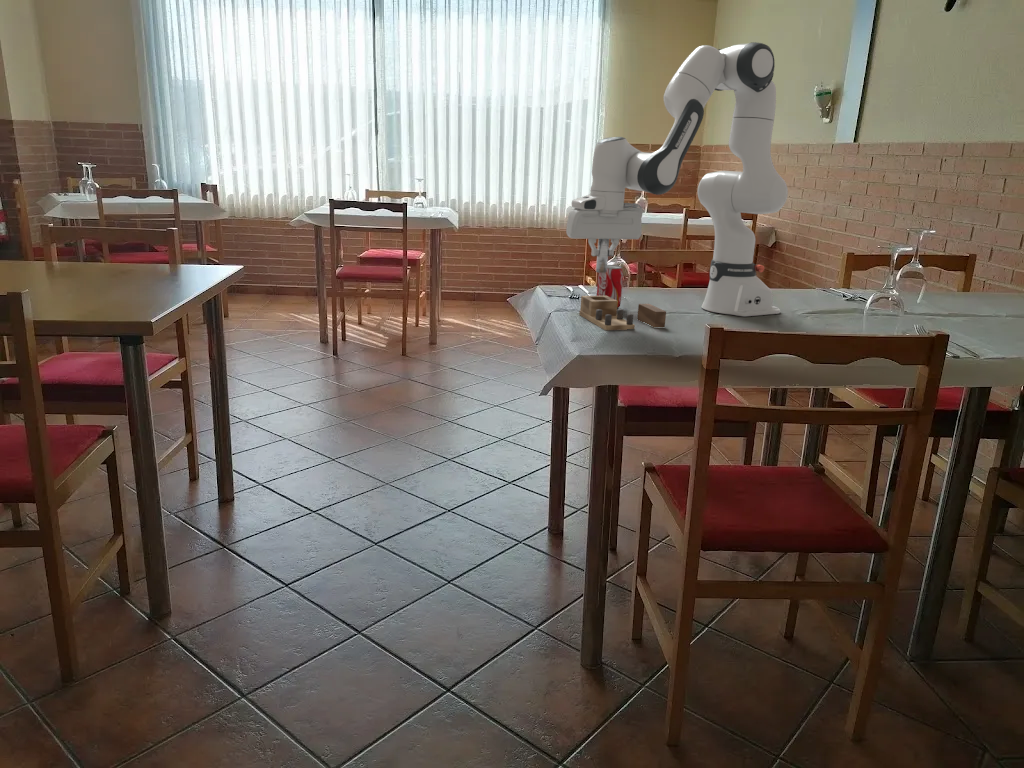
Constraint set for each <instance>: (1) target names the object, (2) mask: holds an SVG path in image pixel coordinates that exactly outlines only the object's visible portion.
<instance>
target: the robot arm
mask: <svg viewBox="0 0 1024 768" xmlns="http://www.w3.org/2000/svg"><path fill="white" fill-rule="evenodd" d="M775 66H776V65H775V56H774V53H773V51H772V49H771V47H770V46H769V45H768V44H766V43H763V42H758V41H757V42H756V41H755V42H754V41H753V42H750V43H738V44H733V45H731V46H728V47H725V48H724V47H723V48H720V49H719V48H716V47H714V46H712V45H709V44H707V45H706V44H704V45H700V46H697V47H695V49H693V51H692V52H691V53H690V54H689V55H688V56H687V57H686V58H685V60H683V62H682V63H681V65H680V66H679V68H678V69H677V70H676V72H675V73H674V75H673V76H672V78H671V79H670V81H669V83H668V84H667V86H666V88H665V91H664V94H663V104H664V107H665V109H666V111H667V113H669V114H670V116H671V117H672V118H673V119H674V122H673V125H672V127H671V129H670V130H669V132H668V134H667V136H666V138H665V141H663V144H662V145H661V147H660V148H659V149H657V150H656V151H653V152H645V151H644V152H643V151H641V150H640V149H638V148H636V147H635V146H633V145H632V144H630V142H629V141H628V140H627V138H625V137H623V136H614V137H613V136H612V137H610V136H609V137H605V138H602V139H600V140H599V141H597V143H596V145H595V147H594V151H593V157H592V165H591V175H592V183H591V185H590V186H591V187H590V189H589V190H590V192H589V194H587V195H583V196H580V197H577V198H575V199H572V200H571V207H572V209H570V211H569V213H568V216H567V221H566V222H567V223H566V230H565V232H566V235H567V236H568V238H569V239H573V240H575V239H576V240H577V239H579V240H580V239H583V240H584V239H585V240H588V241H587V242H588V245H589V247H590V249H591V255H590V256H592V257H597V256H599V249H598V248H597V246H596V245H595V244H597V240H598V239H609V240H610V243H611V245H610V247H609V248H608V257H614V256H615V255H614V254H615V250H616V248H617V247H618V246H619V244H620V243H619V242H620V240H639V239H640V238H641V237H642V231H643V229H642V225H643V222H642V217H643V207H642V206H641V205H639V204H638V203H636V202H635V203H634V202H633V203H630V202H625V191H626V189H628V190H632V191H633V190H634V191H640V192H646V193H649V194H653V195H656V196H660V195H664V194H667V193H668V192H669V191H671V189H673V188H674V186H675V184H676V182H677V180H678V177H679V174H680V169H681V167H682V164H683V160H684V159H685V157H686V155H687V153H688V151H689V148H690V146H691V144H692V143H693V141H694V138H695V137H696V135H697V134H698V133H697V132H698V130H699V128H700V127H701V124H702V122H703V118H704V114H705V108H706V105H707V103H708V102H709V100H710V98H711V96H712V95H713V94H714V91H719V92H721V91H733V93H734V96H735V104H734V109H733V113H732V119H731V126H730V132H729V137H728V138H729V139H728V147H729V150H730V152H731V153H732V154H733V155H734V156H736V157H737V158H738V159H740V161H741V163H742V171H733V170H732V171H731V170H719V171H712V172H708V173H706V174H705V175H704V176H702V178H701V179H700V181H699V183H698V186H697V198H698V201H699V202H700V204H701V205H702V206H703V207H704V209H706V211H707V212H708V214H709V216H710V218H711V221H712V224H713V229H714V243H713V244H714V246H713V247H714V248H713V254H712V255H713V257H712V259H711V261H710V268H709V282H708V286H707V290H706V294H705V296H704V300H703V302H702V305H701V308H702V309H703V310H705V311H708V312H713V313H719V314H725V315H733V316H738V317H751V316H752V317H753V316H763V315H765V316H766V315H775V314H777V315H778V314H780V313H781V310H780V308H779V307H777V306H775V305H774V295H773V291H772V289H771V288H770V287H768V286H767V285H766V284H765V282H763V281H762V280H761V279H760V278H759V277H758V276H757V272H759V273H763V272H764V271H765V266H764V265H762V264H757V265H756V264H755V263H754V262H753V261H754V254H755V247H756V234H755V233H754V231H753V230H752V229H751V228H749V227H748V226H746V225H745V223H744V221H743V219H742V214H741V213H743V214H745V213H746V214H753V215H766V214H775V213H777V212H780V210H782V208H783V207H784V206H785V204H786V202H787V199H788V194H789V190H788V184H787V182H786V180H785V179H784V178H783V177H782V175H780V173H778V171H777V170H776V168H775V166H774V163H773V160H772V159H773V158H772V153H771V151H772V150H771V149H772V148H771V147H772V146H771V145H772V136H773V131H774V128H773V127H774V123H775V116H776V107H777V87H776V84H775V83H774V81H773V77H774V75H775V74H774V72H775Z"/></svg>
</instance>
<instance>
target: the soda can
mask: <svg viewBox="0 0 1024 768" xmlns="http://www.w3.org/2000/svg"><path fill="white" fill-rule="evenodd" d="M622 268H623V267H622V266H621V265H617V264H616V265H615V264H607V272H606V273H598V275H597V283H596V285H597V287H596V296H608V297H610V298H613V299H615V300H617V301H618V302H617V309H619V308H620V307H621V303H622V295H623V285H624V284H623V283H624V282H623V280H624V272H623V269H622Z"/></svg>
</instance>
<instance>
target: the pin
mask: <svg viewBox="0 0 1024 768" xmlns="http://www.w3.org/2000/svg"><path fill="white" fill-rule="evenodd" d="M597 240H598V242H597V249H599V256H596V267H595V272H596V273H598V274H599V273H606V272H607V265H608V260H609V259H608V257H609V256H608V249H609V248H610V247H609V245H610V239H597Z"/></svg>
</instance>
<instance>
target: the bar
mask: <svg viewBox="0 0 1024 768" xmlns="http://www.w3.org/2000/svg"><path fill="white" fill-rule="evenodd" d="M637 307H638V308H637V317H636V320H637V319H638V320H637V321H639V320H640V321H639V322H641V321H642V322H641V323H643V322H645V323H647V324H649V325H651V326H653V327H665V326H666V318H667V311H666V310H664V309H661V308H660V307H657V306H654V305H653V304H650V303H638V306H637ZM645 323H644V324H645ZM647 324H646V325H647ZM649 325H648V326H649ZM651 326H650V327H651ZM653 327H652V328H653ZM665 328H666V327H665Z"/></svg>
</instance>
